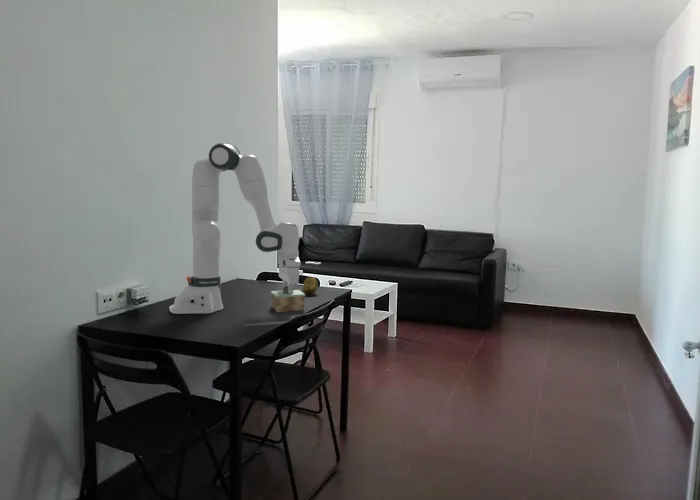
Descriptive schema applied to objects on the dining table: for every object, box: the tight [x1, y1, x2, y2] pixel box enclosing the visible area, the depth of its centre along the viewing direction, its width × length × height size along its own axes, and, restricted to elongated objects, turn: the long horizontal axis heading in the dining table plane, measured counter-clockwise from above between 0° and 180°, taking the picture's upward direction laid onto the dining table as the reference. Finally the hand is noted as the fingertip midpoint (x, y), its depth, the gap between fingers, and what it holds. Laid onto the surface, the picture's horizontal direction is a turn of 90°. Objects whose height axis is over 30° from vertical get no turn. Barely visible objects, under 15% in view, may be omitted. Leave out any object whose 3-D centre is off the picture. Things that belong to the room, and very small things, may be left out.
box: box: [271, 293, 305, 313], centre depth 253 cm, size 12×9×7 cm
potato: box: [302, 276, 319, 297], centre depth 287 cm, size 8×13×8 cm, turn 163°
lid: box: [270, 286, 306, 298], centre depth 252 cm, size 13×10×4 cm
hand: (287, 291), depth 252 cm, fingers open, 5 cm apart
